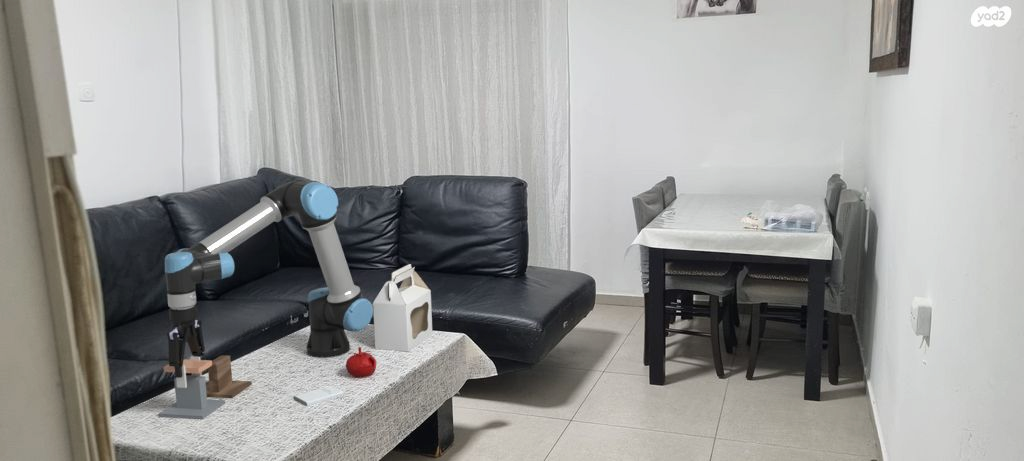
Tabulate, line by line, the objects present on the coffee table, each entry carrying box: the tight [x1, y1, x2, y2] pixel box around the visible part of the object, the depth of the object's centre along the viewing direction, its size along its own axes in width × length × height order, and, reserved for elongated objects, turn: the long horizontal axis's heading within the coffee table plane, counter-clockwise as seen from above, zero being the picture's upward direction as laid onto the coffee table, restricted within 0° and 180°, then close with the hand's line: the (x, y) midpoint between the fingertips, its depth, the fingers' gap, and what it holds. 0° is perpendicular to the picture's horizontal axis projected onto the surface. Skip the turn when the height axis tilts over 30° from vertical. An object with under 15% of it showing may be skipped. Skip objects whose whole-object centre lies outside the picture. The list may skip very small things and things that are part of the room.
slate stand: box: [157, 374, 226, 420], centre depth 232 cm, size 14×12×10 cm
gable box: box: [372, 263, 433, 353], centre depth 292 cm, size 22×13×28 cm, turn 162°
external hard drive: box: [293, 384, 345, 407], centre depth 241 cm, size 2×8×12 cm
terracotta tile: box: [163, 358, 213, 374], centre depth 231 cm, size 7×11×2 cm, turn 80°
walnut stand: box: [205, 354, 253, 399], centre depth 248 cm, size 14×12×10 cm
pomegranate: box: [345, 346, 377, 379], centre depth 259 cm, size 10×10×9 cm
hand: (189, 382), depth 232 cm, fingers closed on terracotta tile, 7 cm apart
